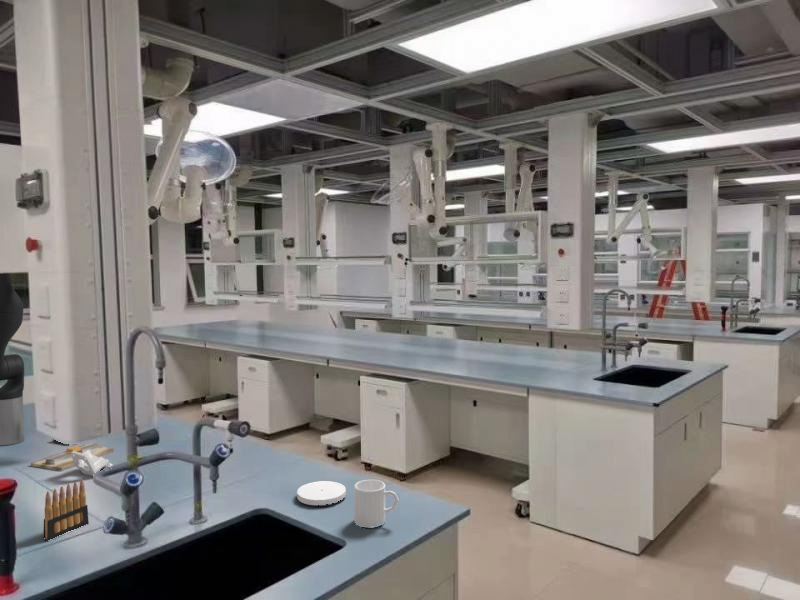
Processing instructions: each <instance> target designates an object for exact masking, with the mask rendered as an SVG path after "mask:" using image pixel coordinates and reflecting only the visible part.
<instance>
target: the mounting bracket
mask: <svg viewBox="0 0 800 600" xmlns="http://www.w3.org/2000/svg"><path fill="white" fill-rule="evenodd" d="M71 455H72V458H73V461H74V464H75V466H74V467H75V468H78V469H79V470H80V472H81V473H82V474H85V475H87V476H90V477H93V474H95V473H96V472H97V471H100V470H101V469H104V468H108V467H111V466H113V467H114V464H112V463H111V462H110V460H109V459H107V458H104V457H103V456H100V457H97V456H94V455H92V453H91V452H90V450H87V451H85V452H84V453H80V452H77V451H72V452H71ZM101 471H102V470H101ZM101 471H100V472H101Z"/></svg>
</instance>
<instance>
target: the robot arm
mask: <svg viewBox="0 0 800 600" xmlns="http://www.w3.org/2000/svg"><path fill="white" fill-rule="evenodd" d="M23 318H24V304H23V301H22V299H21V298H20V296H19V294H18V293H17V292H16V290H15V288H14V287H13V285H12V282H11V273H10V274H0V382H1V381H6V382H5V383H4V384H3V385H2V386H1V387H0V446H11V445H16V444H19V443H22V442H24V441H25V418H24V416H25V415H24V389H25V363H24V359H23V358H22V356H21V355H20V354H17V353H16V354H15V353H14V354H6V355H5V352H6V348H7V346H8V344H9V342H10V341H11V340H12V338H13V337H14V336H15V335H16V333H17V332H18V331H19V329H20V327H21V326H22V324H23Z"/></svg>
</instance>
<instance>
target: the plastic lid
mask: <svg viewBox="0 0 800 600" xmlns="http://www.w3.org/2000/svg"><path fill="white" fill-rule="evenodd" d="M345 495H346V496H347V488H346V486H345V485H344V484H342V483H339V482H336V481H328V480H322V481H321V480H320V481H314V482H313V481H312V482H309V483H305V484H303V485H301V486H299V487H298V488H297V490H296V498H297V500H298V501H299V502H300V503H302V504H305V505H309V506H318V505H319V506H327V505H326V504H328V505H332V503H334V504H336V503H338V501H339V502H341V501H343V500H344V499H345V498H346V496H345ZM344 497H345V498H344ZM343 498H344V499H343ZM340 500H341V501H340Z"/></svg>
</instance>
